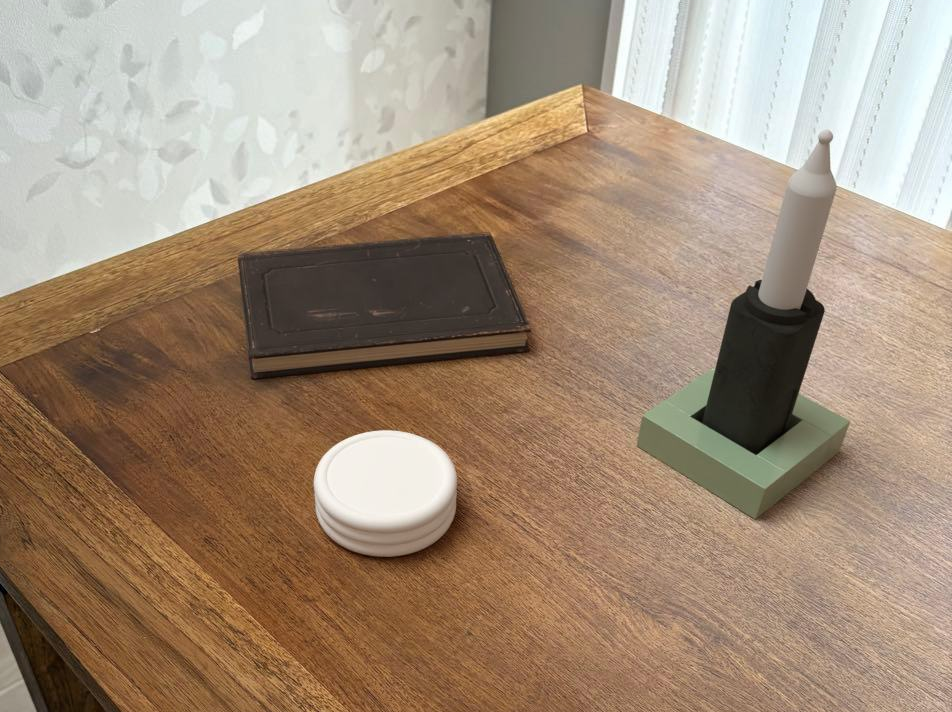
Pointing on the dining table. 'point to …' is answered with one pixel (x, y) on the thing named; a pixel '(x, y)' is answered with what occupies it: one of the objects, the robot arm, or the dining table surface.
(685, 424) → the pad
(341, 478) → the white stacked coasters
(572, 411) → the dining table surface
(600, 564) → the dining table surface
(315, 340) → the hardcover book
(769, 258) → the black and white post
